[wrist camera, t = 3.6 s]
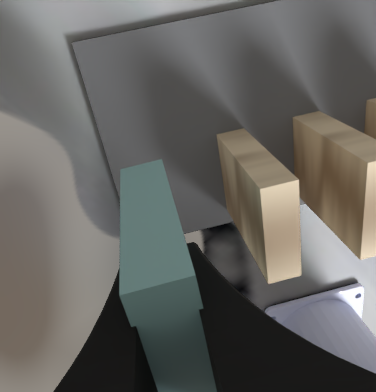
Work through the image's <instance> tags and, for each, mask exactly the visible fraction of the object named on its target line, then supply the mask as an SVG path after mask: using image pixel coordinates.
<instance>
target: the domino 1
mask: <svg viewBox="0 0 376 392" xmlns="http://www.w3.org/2000/svg"><path fill="white" fill-rule="evenodd" d="M119 296H120V299H121V301H122V304H123V307H124V309H125V312H126V315H127V317H128V320H129V323H130V325H131V327H133V326H136V328H137V331H138V334H139V336H140V339H141V342H142V345H143V348H144V351H145V354H146V357H147V360H148V363H149V366H150V369H151V372H152V375H153V378H154V381H155V384H156V387H157V390H158V392H217V389H216V385H215V380H214V376H213V371H212V367H211V362H210V358H209V353H208V349H207V344H206V339H205V335H204V330H203V326H202V321H201V317H200V312H199V309H203V304H202V300H201V296H200V292H199V287H198V283H197V279H196V275H195V271H194V268H193V265H192V261H191V258H190V254H189V251H188V247H187V244H186V241H185V237H184V234H183V230H182V227H181V223H180V220H179V216H178V213H177V210H176V206H175V203H174V199H173V196H172V192H171V189H170V185H169V182H168V179H167V175H166V172H165V168H164V165H163V161H162V159H160V160H156V161H152V162H148V163H144V164H140V165H136V166H132V167H128V168H123V169H120V274H119Z"/></svg>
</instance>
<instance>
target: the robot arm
mask: <svg viewBox="0 0 376 392" xmlns="http://www.w3.org/2000/svg"><path fill="white" fill-rule="evenodd" d="M187 247H188V251H189V254H190V258H191V261H192V265H193V268H194V271H195V275H196V279H197V283H198V287H199V292H200V296H201V300H202V304H203V309H199V312H200V317H201V321H202V326H203V330H204V335H205V339H206V344H207V349H208V353H209V358H210V362H211V367H212V371H213V376H214V380H215V385H216V389H217V392H376V337H375V336H374V334H373V333H372V332H371V331H370V329H369V328H368V327H367V326H366V324H365V323H364V322H363V320H362V309H363V298H364V287H363V286H362V285H361V284H360V283H356V284H352V285H349V286H345V287H341V288H337V289H334V290H330V291H326V292H322V293H319V294H315V295H311V296H307V297H304V298H300V299H296V300H292V301H289V302H285V303H281V304H278V305H274V306H270V307H268V308H267V309H266V310H265V312H263V311H262V310H261V309H259V308H258V307H257V306H255V305H254V304H253V303H252V302H250V301H249V300H248V299H247V298H246V297H245V296H243V295H242V294H241V293H240V292H239V291H238V290H237V289H236V288H234V287H233V286H232V285H231V284H230V283H229V282H228V281H227V280H226V279H225V278H224V277H223V276H222V275H221V274H220V273H219V272H218V271H217V269H216V268H215V267H214V266H213V265H212V264H211V263H210V261H209V260H208V259H207V258H206V257H205V255H204V254H203V253H202V251H201V250H200V248H199V247H198V245H197V244H196V243H194V242H192V243H187ZM119 274H120V268H119V270H118V274H117V276H116V279H115V282H114V284H113V287H112V289H111V292H110V294H109V297H108V299H107V301H106V303H105V306H104V308H103V310H102V312H101V315H100V316H99V318H98V320H97V322H96V324H95V326H94V328H93V330H92V332H91V334H90V336H89V337H88V339H87V341H86V343H85V344H84V346H83V348H82V350H81V351H80V353H79V354H78V356H77V358H76V359H75V361H74V362H73V364H72V366H71V367H70V369H69V370H68V372H67V373H66V374H65V376H64V377H63V379H62V380H61V382H60V383H59V385H58V386H57V387H56V389H55V390H54V392H158V390H157V387H156V384H155V381H154V378H153V375H152V372H151V369H150V366H149V363H148V360H147V357H146V354H145V351H144V348H143V345H142V342H141V339H140V336H139V334H138V331H137V328H136V326H133V327H131V325H130V323H129V320H128V317H127V315H126V312H125V309H124V307H123V304H122V301H121V299H120V296H119Z"/></svg>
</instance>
